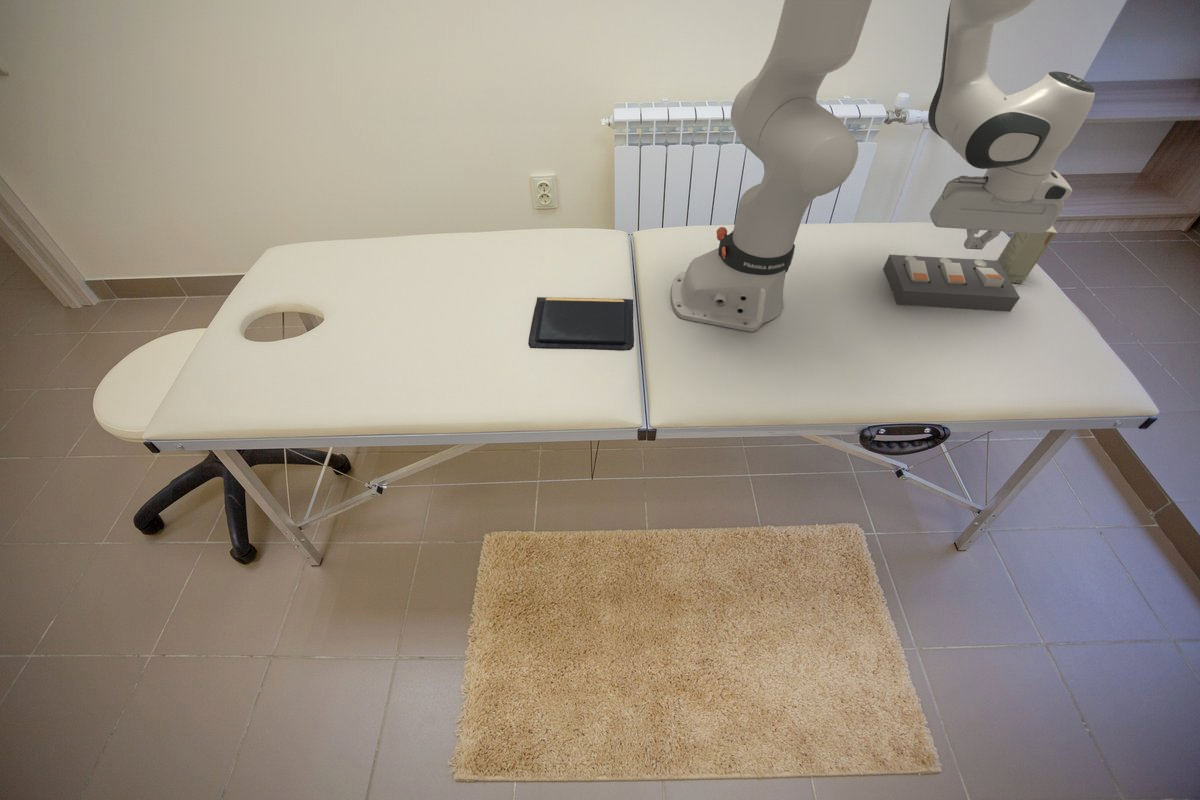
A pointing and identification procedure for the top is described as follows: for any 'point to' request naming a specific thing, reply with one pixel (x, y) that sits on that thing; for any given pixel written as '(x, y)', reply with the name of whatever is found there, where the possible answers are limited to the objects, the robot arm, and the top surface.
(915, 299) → the switch panel
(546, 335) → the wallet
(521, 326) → the top surface
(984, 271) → the rocker right
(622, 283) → the top surface
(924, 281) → the rocker left
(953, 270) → the rocker middle
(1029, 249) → the skincare box
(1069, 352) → the top surface
